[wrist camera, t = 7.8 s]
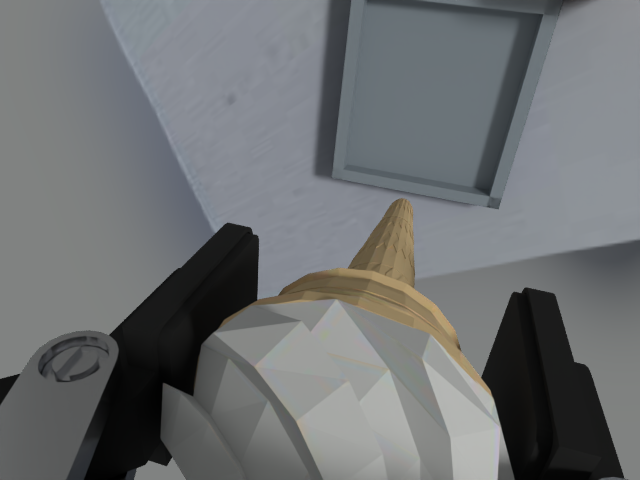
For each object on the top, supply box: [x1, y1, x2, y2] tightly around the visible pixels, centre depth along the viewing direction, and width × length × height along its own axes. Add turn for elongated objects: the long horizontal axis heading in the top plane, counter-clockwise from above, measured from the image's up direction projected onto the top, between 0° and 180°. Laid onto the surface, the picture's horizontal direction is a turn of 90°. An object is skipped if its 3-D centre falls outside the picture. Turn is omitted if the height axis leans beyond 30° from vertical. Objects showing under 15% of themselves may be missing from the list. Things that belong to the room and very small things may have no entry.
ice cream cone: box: [160, 198, 515, 480], centre depth 10 cm, size 6×6×15 cm
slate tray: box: [332, 0, 563, 209], centre depth 31 cm, size 13×12×2 cm
